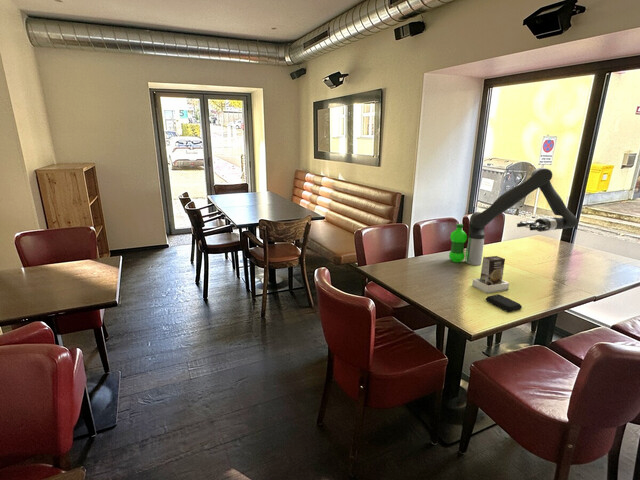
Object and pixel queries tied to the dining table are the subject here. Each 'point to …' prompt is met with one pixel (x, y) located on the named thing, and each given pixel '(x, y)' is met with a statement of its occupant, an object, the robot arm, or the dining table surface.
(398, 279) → the dining table surface
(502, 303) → the carrying case or bag
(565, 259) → the dining table surface
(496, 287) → the white rectangular tray
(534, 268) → the dining table surface
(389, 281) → the dining table surface
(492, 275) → the coffee box
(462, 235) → the plastic bottle
